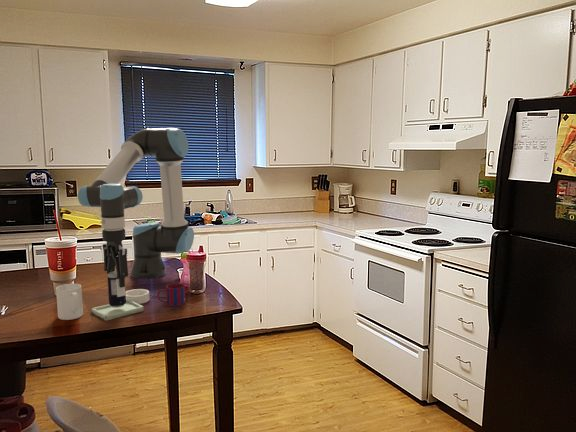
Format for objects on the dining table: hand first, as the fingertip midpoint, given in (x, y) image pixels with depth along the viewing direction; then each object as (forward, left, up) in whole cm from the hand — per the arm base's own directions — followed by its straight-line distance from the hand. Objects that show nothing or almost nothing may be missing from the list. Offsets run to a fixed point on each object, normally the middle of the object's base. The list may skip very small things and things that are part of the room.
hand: (117, 293), depth 179 cm
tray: (0, 0, -7) cm, 7 cm away
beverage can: (0, 0, -5) cm, 5 cm away
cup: (-18, +6, -7) cm, 20 cm away
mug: (+14, -5, -7) cm, 16 cm away
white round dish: (-11, -7, -7) cm, 15 cm away
